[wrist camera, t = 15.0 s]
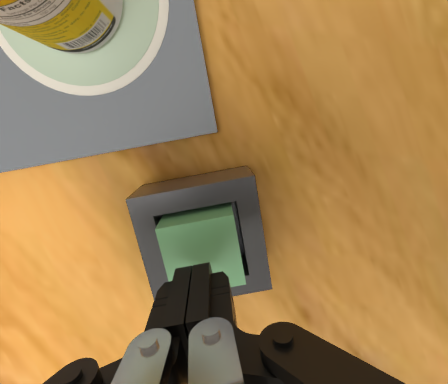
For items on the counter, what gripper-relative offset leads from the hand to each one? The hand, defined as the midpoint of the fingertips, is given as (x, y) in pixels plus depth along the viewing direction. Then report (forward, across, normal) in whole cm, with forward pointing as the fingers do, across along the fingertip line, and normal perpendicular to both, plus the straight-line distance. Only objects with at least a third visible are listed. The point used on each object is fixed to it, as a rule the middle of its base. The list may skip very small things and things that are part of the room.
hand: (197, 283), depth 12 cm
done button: (+5, 0, 0) cm, 5 cm away
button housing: (+7, 0, 0) cm, 7 cm away
